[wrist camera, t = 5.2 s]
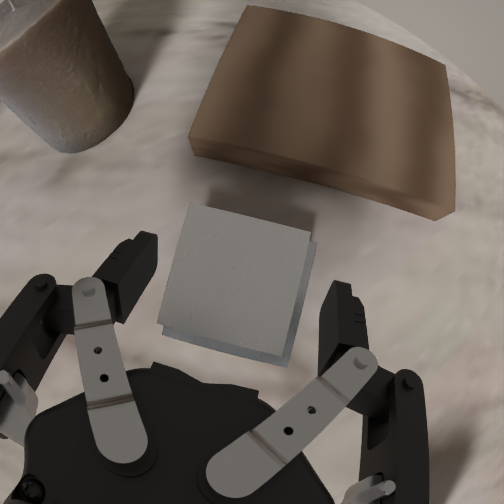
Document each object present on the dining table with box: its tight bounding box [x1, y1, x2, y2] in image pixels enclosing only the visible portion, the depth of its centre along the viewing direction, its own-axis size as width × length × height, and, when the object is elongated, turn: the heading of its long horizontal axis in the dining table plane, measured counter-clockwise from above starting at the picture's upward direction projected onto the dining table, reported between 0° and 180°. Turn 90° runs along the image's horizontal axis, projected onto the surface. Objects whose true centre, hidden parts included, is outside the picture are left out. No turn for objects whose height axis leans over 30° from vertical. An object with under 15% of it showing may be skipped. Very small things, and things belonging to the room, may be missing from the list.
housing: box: [157, 203, 317, 367], centre depth 16 cm, size 8×8×11 cm
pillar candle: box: [0, 0, 134, 153], centre depth 17 cm, size 10×10×15 cm
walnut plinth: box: [188, 5, 456, 221], centre depth 23 cm, size 20×16×3 cm
